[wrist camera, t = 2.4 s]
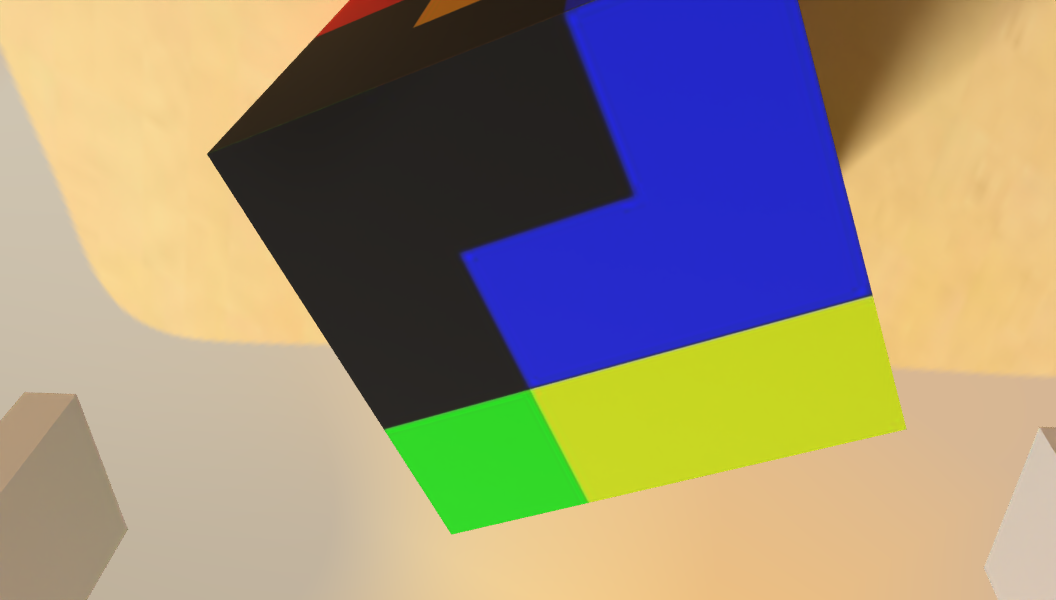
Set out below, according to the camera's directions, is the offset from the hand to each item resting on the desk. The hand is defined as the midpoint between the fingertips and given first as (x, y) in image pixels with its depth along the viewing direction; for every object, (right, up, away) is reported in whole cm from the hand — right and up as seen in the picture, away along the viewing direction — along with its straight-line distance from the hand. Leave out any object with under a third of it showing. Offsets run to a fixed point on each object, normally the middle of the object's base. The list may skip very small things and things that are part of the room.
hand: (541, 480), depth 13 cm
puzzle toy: (+2, +8, +12) cm, 15 cm away
